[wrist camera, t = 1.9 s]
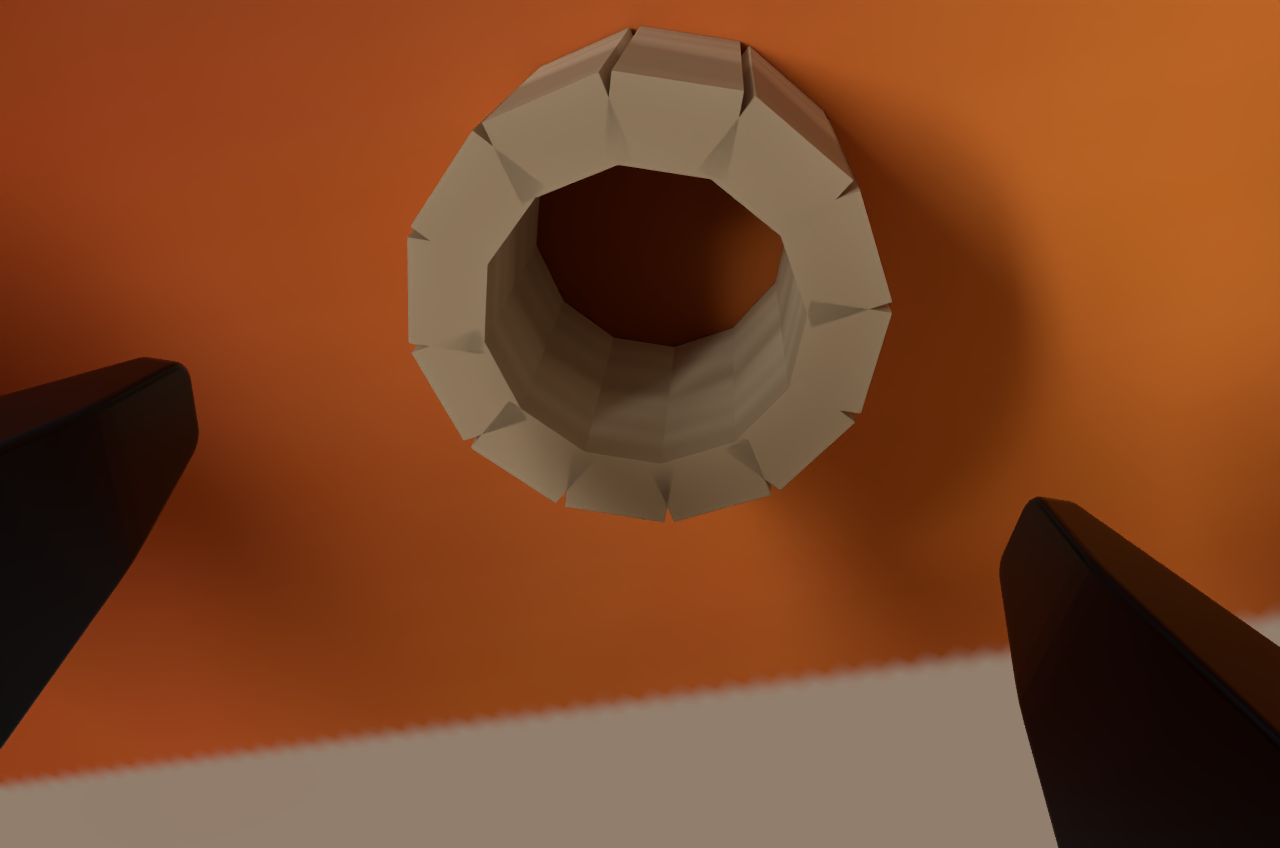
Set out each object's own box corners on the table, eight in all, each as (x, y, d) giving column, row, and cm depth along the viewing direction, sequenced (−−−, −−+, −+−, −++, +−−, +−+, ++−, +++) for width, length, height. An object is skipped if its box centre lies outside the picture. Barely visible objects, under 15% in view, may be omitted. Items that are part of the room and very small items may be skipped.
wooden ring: (472, 365, 17) (409, 482, 14) (484, 1, 14) (404, 37, 10) (801, 417, 17) (819, 546, 14) (895, 65, 14) (950, 123, 10)
